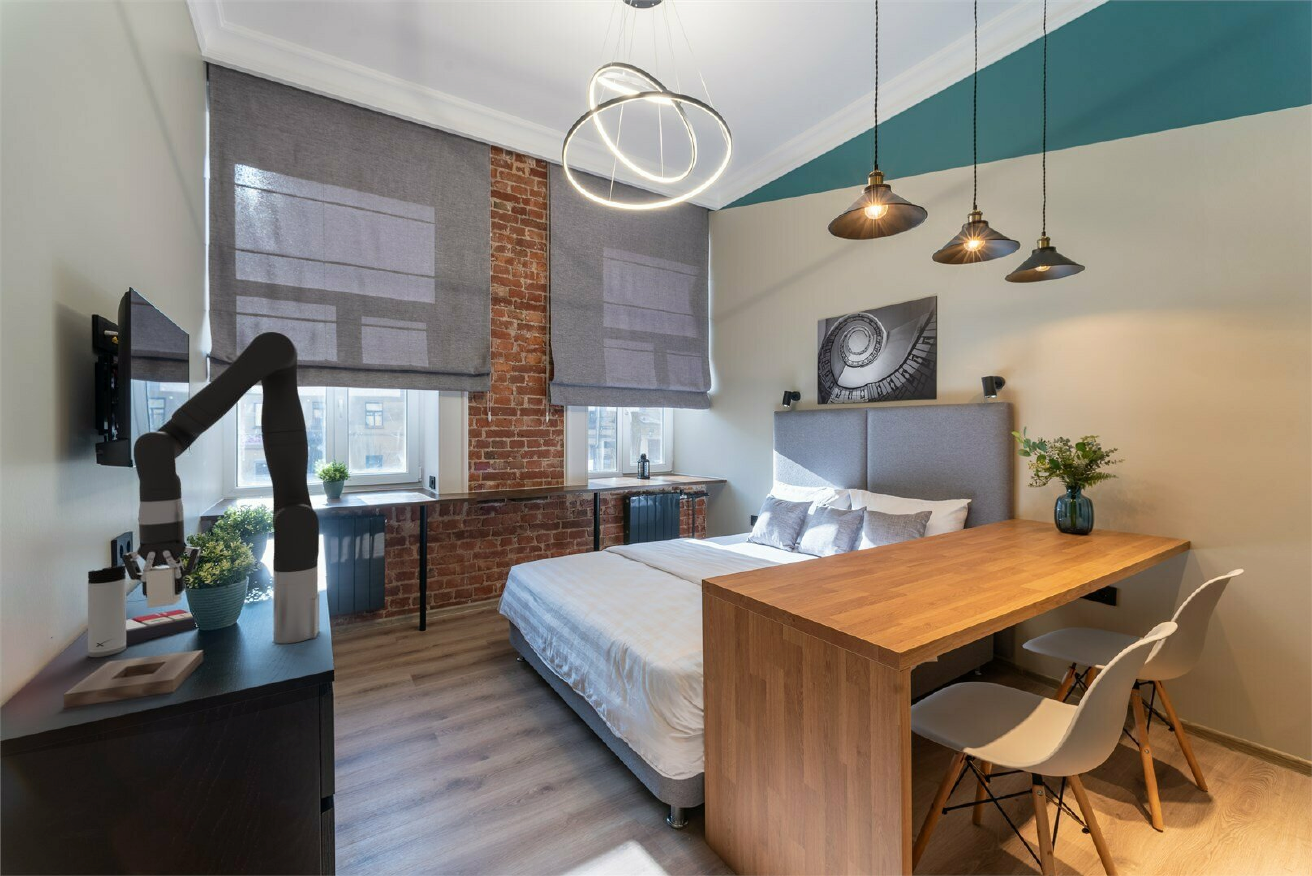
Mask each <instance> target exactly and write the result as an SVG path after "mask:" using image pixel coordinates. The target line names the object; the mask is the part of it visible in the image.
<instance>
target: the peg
mask: <svg viewBox="0 0 1312 876" xmlns="http://www.w3.org/2000/svg"><path fill="white" fill-rule="evenodd" d="M174 579H176V578H175V576H174V569H170V567H169V565H162V566H157V567H156V568H155V569H153V570H151V571H147V572H146V583H147V598H146V605H147V607H146V608H147V609H149V608H157V607H158V608H159V607H167V606H174V605H176V604H177V603H178V602H180V601H181V600H182V593H181V594H179V595H175V580H174Z"/></svg>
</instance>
